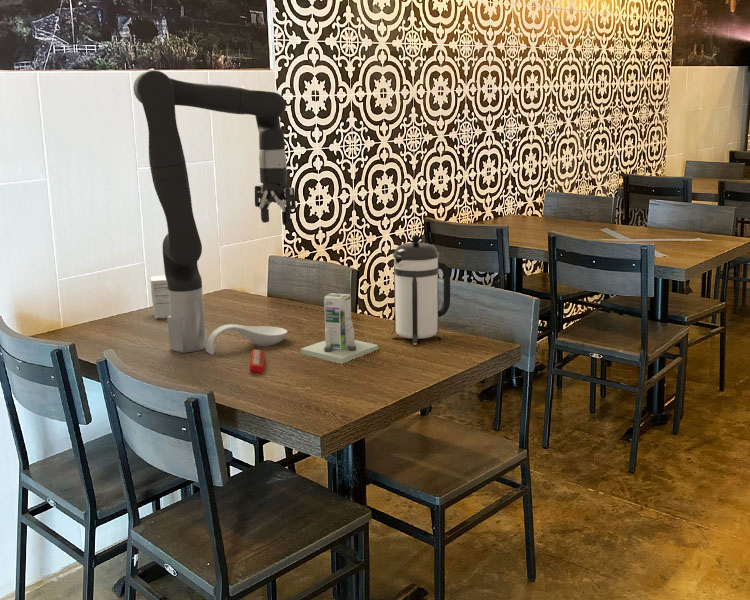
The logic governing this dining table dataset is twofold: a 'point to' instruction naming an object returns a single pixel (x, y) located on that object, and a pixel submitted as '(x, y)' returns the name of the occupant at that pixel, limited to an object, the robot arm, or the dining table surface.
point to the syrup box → (338, 319)
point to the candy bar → (257, 361)
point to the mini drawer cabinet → (160, 296)
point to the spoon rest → (249, 335)
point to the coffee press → (418, 290)
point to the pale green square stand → (339, 356)
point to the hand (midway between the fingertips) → (275, 223)
